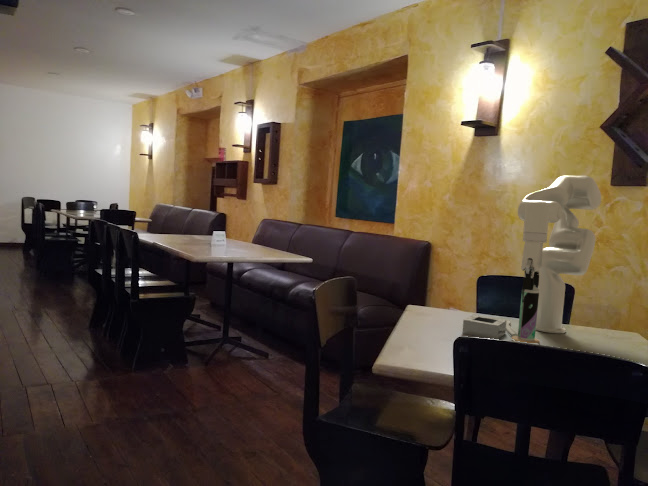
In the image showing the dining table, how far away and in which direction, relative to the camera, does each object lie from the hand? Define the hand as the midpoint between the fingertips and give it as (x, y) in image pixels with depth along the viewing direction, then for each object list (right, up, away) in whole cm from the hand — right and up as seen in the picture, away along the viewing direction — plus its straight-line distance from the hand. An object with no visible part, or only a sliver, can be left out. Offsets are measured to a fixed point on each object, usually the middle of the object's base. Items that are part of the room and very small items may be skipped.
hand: (530, 287), depth 172 cm
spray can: (-1, -18, +1) cm, 18 cm away
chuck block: (-13, -17, +8) cm, 23 cm away
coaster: (-2, -19, +1) cm, 19 cm away
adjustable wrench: (-2, -18, +17) cm, 25 cm away
